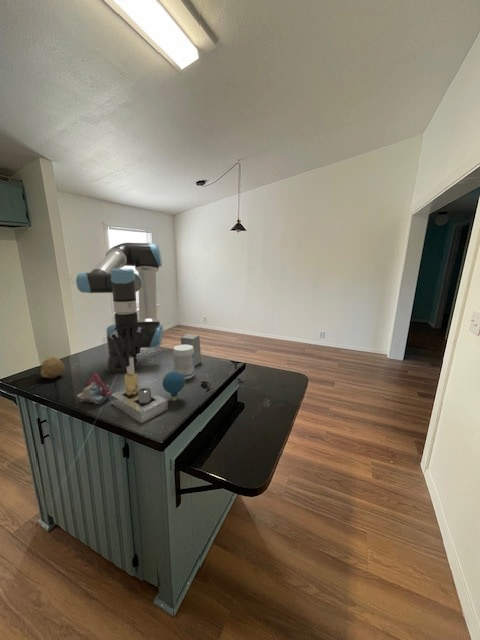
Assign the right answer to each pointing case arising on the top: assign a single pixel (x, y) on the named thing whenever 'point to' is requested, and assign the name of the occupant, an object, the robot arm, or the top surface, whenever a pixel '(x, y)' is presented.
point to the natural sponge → (52, 367)
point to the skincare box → (195, 343)
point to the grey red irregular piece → (95, 391)
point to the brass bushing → (131, 385)
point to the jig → (140, 404)
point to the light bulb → (173, 383)
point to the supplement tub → (184, 360)
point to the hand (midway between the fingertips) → (130, 373)
